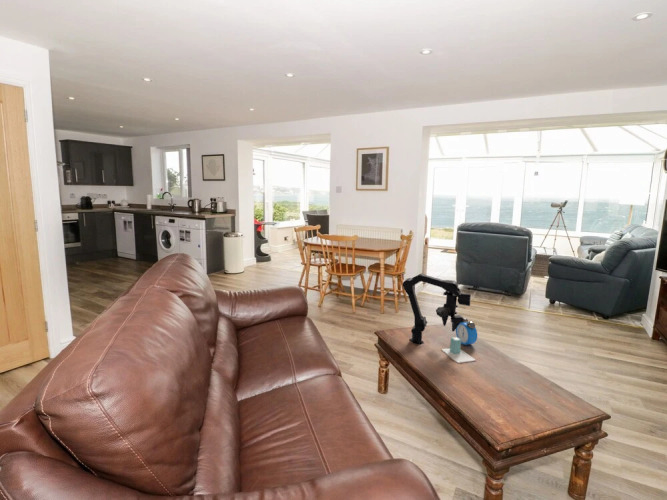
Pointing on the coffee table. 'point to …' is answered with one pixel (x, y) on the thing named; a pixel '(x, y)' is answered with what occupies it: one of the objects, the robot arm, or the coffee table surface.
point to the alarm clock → (466, 332)
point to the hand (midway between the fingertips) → (448, 328)
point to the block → (455, 345)
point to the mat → (459, 356)
